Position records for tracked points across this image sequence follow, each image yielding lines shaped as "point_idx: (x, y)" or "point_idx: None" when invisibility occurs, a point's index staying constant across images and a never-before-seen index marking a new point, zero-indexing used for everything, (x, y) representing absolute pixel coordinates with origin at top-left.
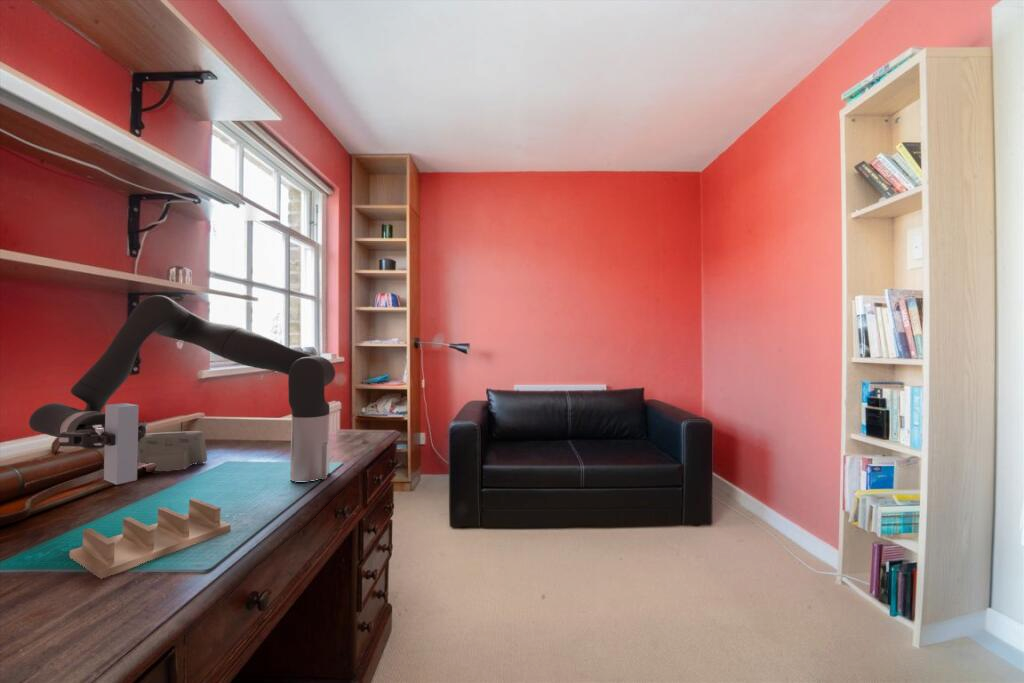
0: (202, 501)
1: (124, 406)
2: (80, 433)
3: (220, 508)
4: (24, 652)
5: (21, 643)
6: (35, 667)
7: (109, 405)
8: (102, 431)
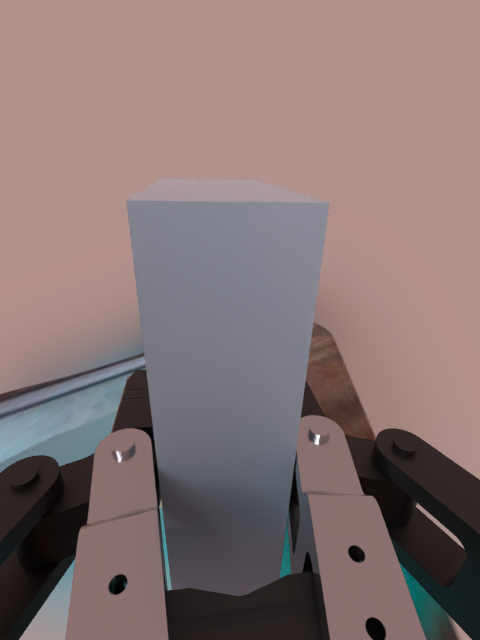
0: (114, 422)
1: (228, 180)
2: (460, 487)
3: (128, 376)
4: (327, 340)
5: (332, 348)
6: (318, 327)
7: (294, 192)
8: (310, 425)
